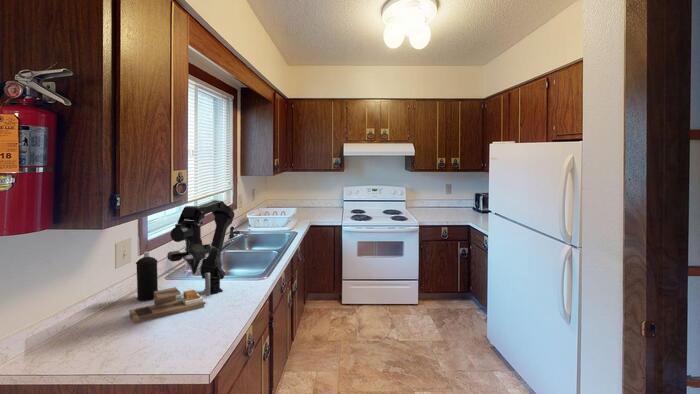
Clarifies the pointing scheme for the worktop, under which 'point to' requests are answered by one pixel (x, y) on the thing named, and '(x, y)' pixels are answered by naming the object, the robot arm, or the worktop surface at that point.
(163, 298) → the tan piece
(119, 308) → the worktop surface
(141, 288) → the aerosol can
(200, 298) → the sled
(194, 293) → the block
